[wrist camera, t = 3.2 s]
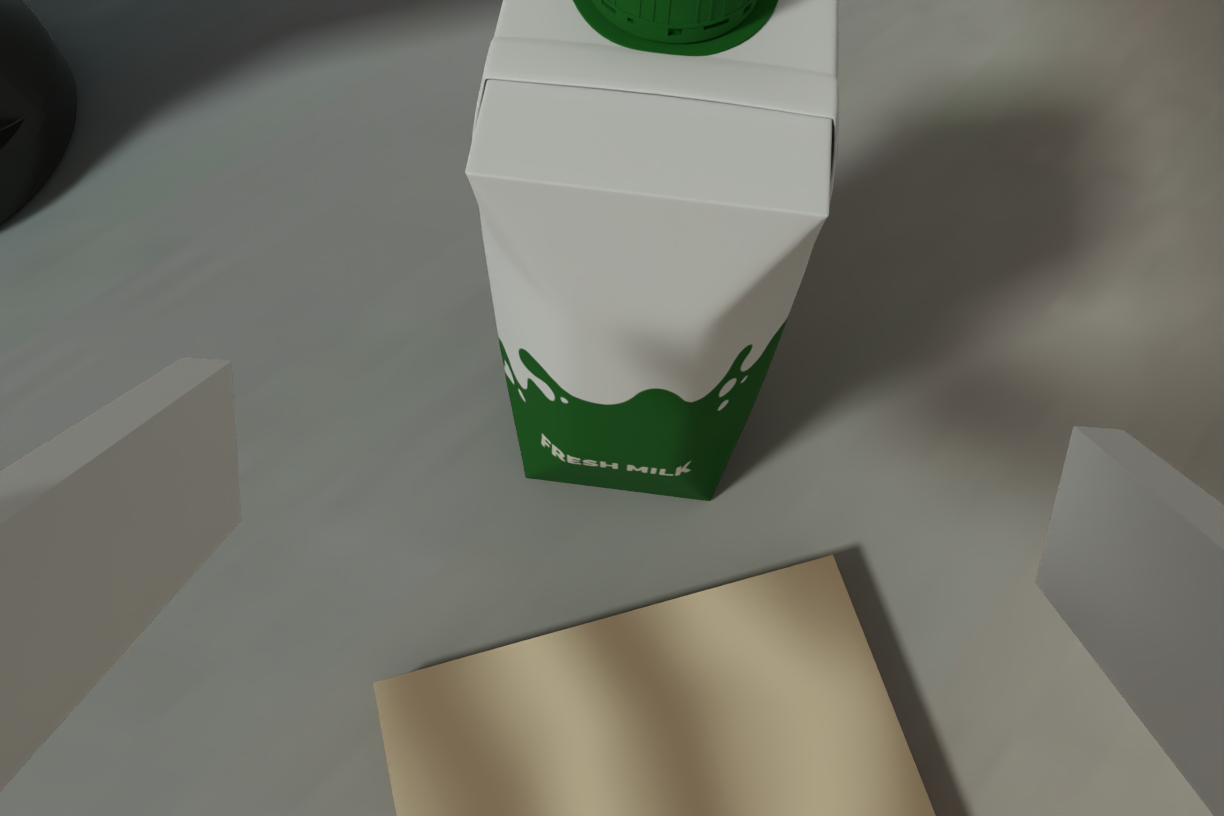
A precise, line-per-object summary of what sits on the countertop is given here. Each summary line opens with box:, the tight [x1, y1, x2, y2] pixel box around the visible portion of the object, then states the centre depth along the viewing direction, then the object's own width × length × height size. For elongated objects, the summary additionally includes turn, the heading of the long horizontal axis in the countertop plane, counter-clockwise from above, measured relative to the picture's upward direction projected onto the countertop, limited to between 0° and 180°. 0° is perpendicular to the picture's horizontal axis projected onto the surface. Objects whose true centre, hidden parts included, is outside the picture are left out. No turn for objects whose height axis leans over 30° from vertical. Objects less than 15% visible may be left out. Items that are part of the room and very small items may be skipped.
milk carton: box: [465, 0, 839, 501], centre depth 28 cm, size 9×9×20 cm
